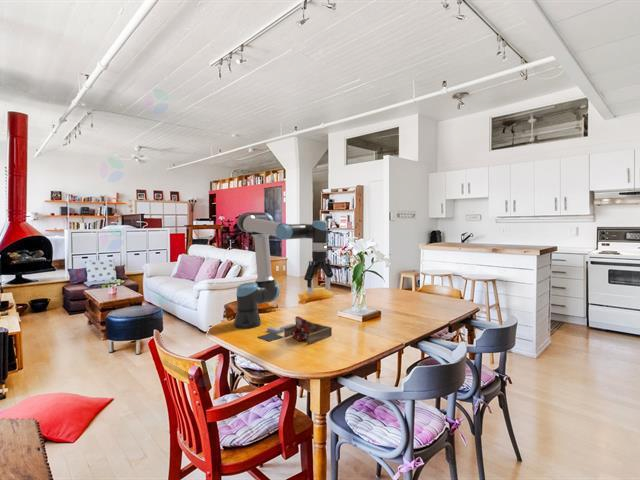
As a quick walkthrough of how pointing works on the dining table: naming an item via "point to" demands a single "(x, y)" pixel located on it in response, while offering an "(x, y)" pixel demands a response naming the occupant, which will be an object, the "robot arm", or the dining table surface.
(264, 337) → the black hole patch
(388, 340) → the dining table surface
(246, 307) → the robot arm
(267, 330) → the slate-blue stick
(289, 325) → the grey metal crook tool
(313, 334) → the walnut cubby
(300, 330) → the toy fire truck
